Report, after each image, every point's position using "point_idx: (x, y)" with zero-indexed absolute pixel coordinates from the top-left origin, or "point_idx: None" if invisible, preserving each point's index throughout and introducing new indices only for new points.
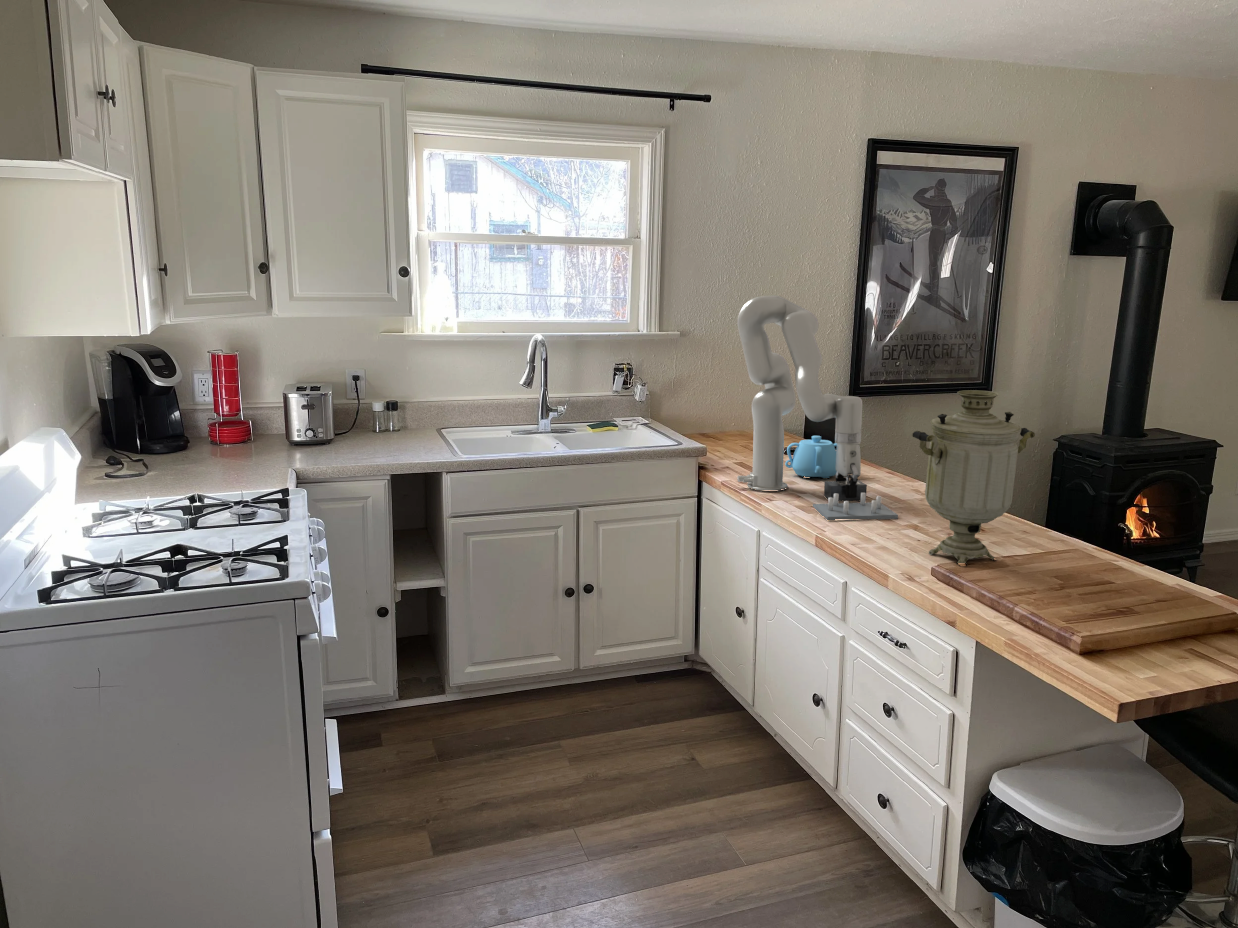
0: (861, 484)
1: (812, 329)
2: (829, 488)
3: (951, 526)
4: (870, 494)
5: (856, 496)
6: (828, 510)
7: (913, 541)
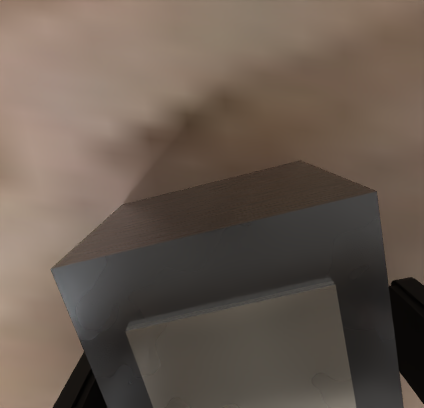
0: (347, 271)
1: None
2: None
3: None
4: (59, 85)
5: (414, 280)
6: None
7: None
